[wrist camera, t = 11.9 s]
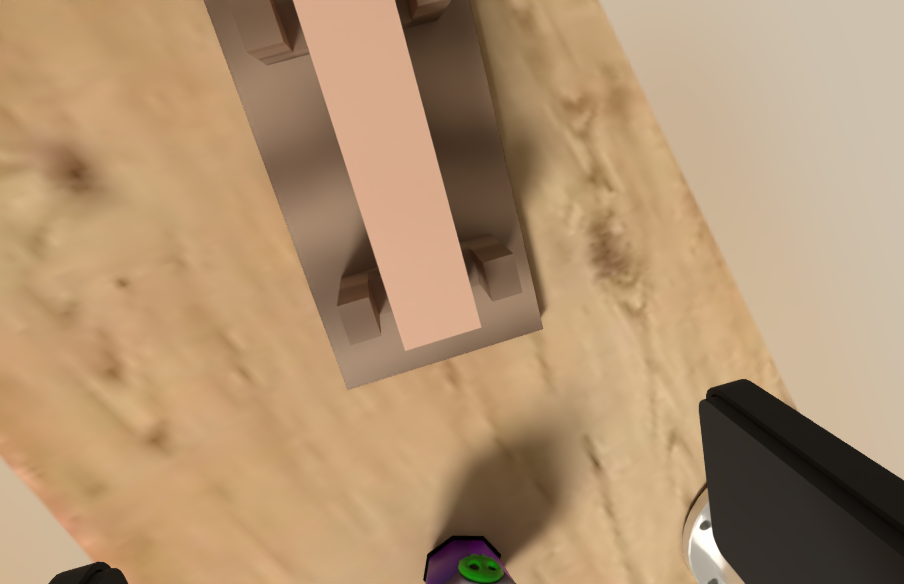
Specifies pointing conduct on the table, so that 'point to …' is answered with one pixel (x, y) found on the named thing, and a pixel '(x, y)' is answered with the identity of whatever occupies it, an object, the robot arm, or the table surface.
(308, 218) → the rack
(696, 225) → the table surface
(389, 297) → the pink rectangular block
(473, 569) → the potion bottle
